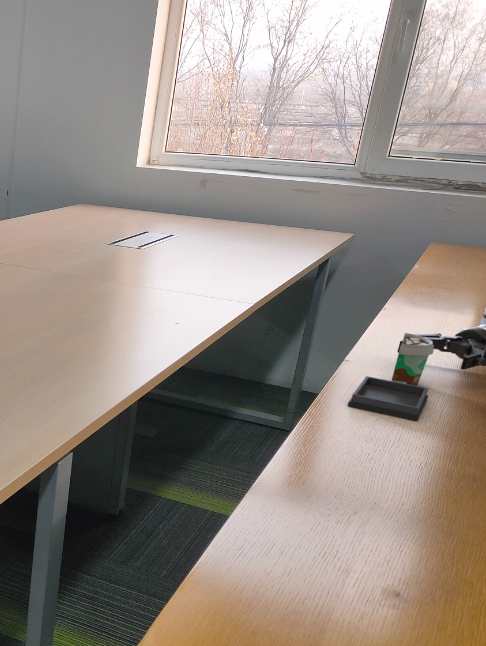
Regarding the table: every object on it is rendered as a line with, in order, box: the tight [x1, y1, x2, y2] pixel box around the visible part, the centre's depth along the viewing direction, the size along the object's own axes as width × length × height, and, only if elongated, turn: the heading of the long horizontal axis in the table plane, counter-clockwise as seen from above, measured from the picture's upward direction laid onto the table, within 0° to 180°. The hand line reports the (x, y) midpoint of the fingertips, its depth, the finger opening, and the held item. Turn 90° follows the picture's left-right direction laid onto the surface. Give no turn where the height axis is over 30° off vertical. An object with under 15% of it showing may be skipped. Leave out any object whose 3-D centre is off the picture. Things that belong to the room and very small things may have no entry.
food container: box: [390, 332, 434, 386], centre depth 174 cm, size 12×6×10 cm, turn 147°
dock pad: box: [347, 375, 429, 422], centre depth 164 cm, size 12×16×2 cm
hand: (431, 354), depth 177 cm, fingers open, 13 cm apart
